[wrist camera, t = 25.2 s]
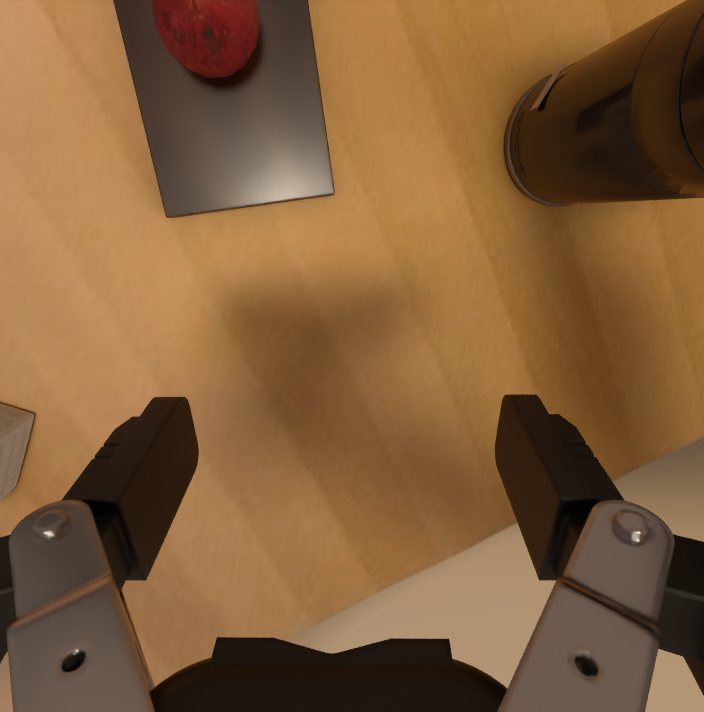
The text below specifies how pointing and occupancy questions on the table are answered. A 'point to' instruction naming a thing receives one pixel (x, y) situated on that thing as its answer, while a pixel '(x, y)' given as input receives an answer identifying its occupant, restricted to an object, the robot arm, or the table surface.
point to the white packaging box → (12, 445)
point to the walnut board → (232, 115)
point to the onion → (208, 33)
